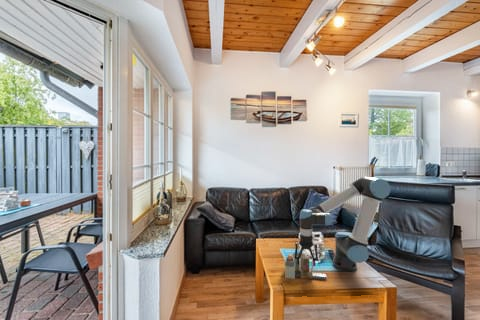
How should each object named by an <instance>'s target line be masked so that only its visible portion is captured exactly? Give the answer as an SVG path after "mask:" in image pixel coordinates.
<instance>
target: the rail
mask: <svg viewBox="0 0 480 320" xmlns="http://www.w3.org/2000/svg"><path fill="white" fill-rule="evenodd" d="M295 278H301V273H300V271H296V270H295ZM314 279H315V280H322V281H323V280H324V281H326V280H327V274H326V273H318V272H317V273H316V272H312V280H314Z"/></svg>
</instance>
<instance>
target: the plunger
mask: <svg viewBox="0 0 480 320" xmlns="http://www.w3.org/2000/svg"><path fill="white" fill-rule="evenodd" d="M287 257H288V260H289V261H292V257H293V254H291V253H290V254H287Z"/></svg>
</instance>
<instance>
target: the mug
mask: <svg viewBox="0 0 480 320" xmlns="http://www.w3.org/2000/svg"><path fill="white" fill-rule="evenodd" d="M298 254H299V252H297V256H298ZM303 256H307V255H306V254H305V253H303V252H302V254H301V257H300V260H301V267H303ZM292 258H294V261H295V271H300V270H299V265H298V264H297V259H295V252H294V253H293V254H292Z"/></svg>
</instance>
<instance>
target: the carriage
mask: <svg viewBox="0 0 480 320" xmlns="http://www.w3.org/2000/svg"><path fill="white" fill-rule="evenodd" d="M300 273H301V277H300V278H301V279H308V280H313V278H312V273H313V272H312V267H310V256H308V255H306V256H303V267H301V271H300Z"/></svg>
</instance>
